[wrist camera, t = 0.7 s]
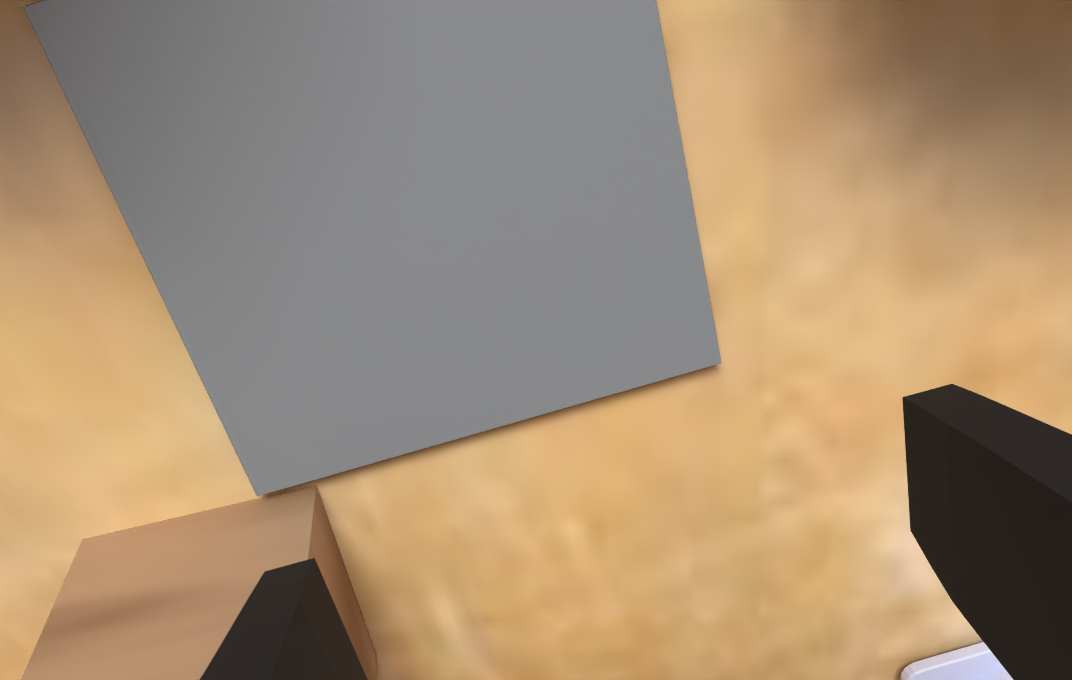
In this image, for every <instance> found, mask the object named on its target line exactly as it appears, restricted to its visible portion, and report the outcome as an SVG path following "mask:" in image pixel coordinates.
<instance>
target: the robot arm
mask: <svg viewBox="0 0 1072 680" xmlns="http://www.w3.org/2000/svg"><path fill="white" fill-rule="evenodd" d="M903 413H904V429H905V446H906V462H907V479H908V495H909V512H910V528H911V532H912V534H913V535H914V537H915V539H916V541H917V542H918V544H919V546H920V548H921V549H922V551H923V553H924V555H925V556H926V558H927V560H928V562H929V563H930V565H931V567H932V569H933V570H934V572H935V573H936V575H937V577H938V578H939V580H940V582H941V583H942V585H943V587H944V588H945V590H946V591H947V593H948V595H949V596H950V598H951V600H952V601H953V603H954V604H955V605H956V606H957V608H958V609H959V610H960V612H961V613H962V614H963V616H964V617H965V618H966V620H967V621H968V622H969V624H970V625H971V626H972V627H973V629H974V630H975V631H976V633H977V634H978V635H979V636H980V638H981V639H982V640H983V642H981V643H978V644H974V645H971V646H968V647H964V648H961V649H957V650H954V651H950V652H947V653H943V654H940V655H937V656H933V657H930V658H926V659H923V660H919V661H916V662H913V663H911V664H909V665H908V666H907V667H905V668H904V670H903V671H902V673H901V677H900V680H1072V435H1071V434H1069V433H1066V432H1064V431H1062V430H1060V429H1057V428H1055V427H1053V426H1050V425H1048V424H1046V423H1043V422H1041V421H1039V420H1037V419H1034V418H1032V417H1030V416H1027V415H1025V414H1023V413H1021V412H1018V411H1016V410H1014V409H1012V408H1009V407H1007V406H1005V405H1002V404H1000V403H998V402H995V401H993V400H991V399H989V398H986V397H984V396H981V395H979V394H977V393H974V392H972V391H969V390H967V389H964V388H962V387H959V386H956V385H954V384H950V385H946V386H942V387H939V388H935V389H931V390H928V391H924V392H920V393H917V394H913V395H909V396H906V397H903ZM200 680H368V679H367V677H366V675H365V672H364V670H363V668H362V666H361V663H360V661H359V659H358V656H357V654H356V652H355V649H354V647H353V645H352V643H351V640H350V638H349V636H348V633H347V631H346V629H345V626H344V624H343V622H342V620H341V617H340V615H339V613H338V610H337V608H336V606H335V604H334V601H333V599H332V597H331V594H330V592H329V590H328V587H327V585H326V583H325V581H324V578H323V576H322V574H321V571H320V569H319V567H318V564H317V562H316V560H315V558H312V559H308V560H305V561H301V562H297V563H294V564H290V565H286V566H283V567H279V568H275V569H272V570H268V571H265V572H264V573H263V575H262V576H261V578H260V580H259V581H258V583H257V585H256V586H255V588H254V589H253V591H252V593H251V594H250V596H249V598H248V599H247V601H246V603H245V604H244V606H243V608H242V609H241V611H240V613H239V614H238V616H237V618H236V619H235V621H234V623H233V625H232V626H231V628H230V630H229V631H228V633H227V635H226V637H225V638H224V640H223V642H222V643H221V645H220V647H219V648H218V650H217V652H216V653H215V655H214V657H213V658H212V660H211V662H210V663H209V665H208V667H207V668H206V670H205V672H204V673H203V675H202V676H201V678H200Z"/></svg>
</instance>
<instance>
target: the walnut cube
mask: <svg viewBox="0 0 1072 680" xmlns="http://www.w3.org/2000/svg"><path fill="white" fill-rule="evenodd" d="M312 558H315V560H316V562H317V564H318V567H319V569H320V571H321V574H322V576H323V578H324V581H325V583H326V585H327V587H328V590H329V592H330V594H331V597H332V599H333V601H334V604H335V606H336V608H337V610H338V613H339V615H340V617H341V620H342V622H343V624H344V626H345V629H346V631H347V633H348V636H349V638H350V640H351V643H352V645H353V647H354V649H355V652H356V654H357V656H358V659H359V661H360V663H361V666H362V668H363V670H364V672H365V675H366V677H367V679H368V680H376V652H375V649H374V646H373V643H372V640H371V638H370V635H369V632H368V629H367V626H366V624H365V621H364V618H363V615H362V612H361V610H360V607H359V604H358V601H357V598H356V596H355V593H354V590H353V587H352V584H351V582H350V579H349V576H348V573H347V570H346V567H345V565H344V562H343V559H342V556H341V553H340V551H339V548H338V545H337V542H336V539H335V537H334V534H333V531H332V528H331V525H330V523H329V520H328V517H327V514H326V511H325V509H324V506H323V503H322V500H321V497H320V494H319V492H318V489H317V486H316V485H315V486H310V487H306V488H302V489H297V490H293V491H289V492H285V493H280V494H276V495H272V496H267V497H263V498H259V499H254V500H250V501H246V502H242V503H237V504H233V505H229V506H224V507H220V508H216V509H211V510H207V511H203V512H199V513H194V514H190V515H186V516H181V517H177V518H173V519H168V520H164V521H160V522H156V523H151V524H147V525H143V526H138V527H134V528H130V529H125V530H121V531H117V532H113V533H108V534H104V535H100V536H95V537H91V538H87V539H83V540H82V542H81V544H80V547H79V549H78V551H77V553H76V556H75V558H74V560H73V562H72V565H71V567H70V569H69V572H68V574H67V576H66V578H65V581H64V583H63V585H62V588H61V590H60V592H59V594H58V597H57V599H56V601H55V604H54V606H53V608H52V610H51V613H50V615H49V617H48V619H47V622H46V624H45V626H44V629H43V631H42V633H41V635H40V638H39V640H38V642H37V645H36V647H35V649H34V651H33V654H32V656H31V658H30V661H29V663H28V665H27V667H26V670H25V672H24V674H23V676H22V679H21V680H200V678H201V676H202V675H203V673H204V672H205V670H206V668H207V667H208V665H209V663H210V662H211V660H212V658H213V657H214V655H215V653H216V652H217V650H218V648H219V647H220V645H221V643H222V642H223V640H224V638H225V637H226V635H227V633H228V631H229V630H230V628H231V626H232V625H233V623H234V621H235V619H236V618H237V616H238V614H239V613H240V611H241V609H242V608H243V606H244V604H245V603H246V601H247V599H248V598H249V596H250V594H251V593H252V591H253V589H254V588H255V586H256V585H257V583H258V581H259V580H260V578H261V576H262V575H263V573H264V572H265V571H268V570H272V569H275V568H279V567H283V566H286V565H290V564H294V563H297V562H301V561H305V560H308V559H312Z"/></svg>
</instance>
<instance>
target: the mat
mask: <svg viewBox="0 0 1072 680" xmlns="http://www.w3.org/2000/svg"><path fill="white" fill-rule="evenodd" d="M23 8H24V10H25V12H26V14H27V16H28V18H29V20H30V22H31V24H32V27H33V29H34V31H35V33H36V35H37V37H38V39H39V41H40V43H41V45H42V48H43V50H44V52H45V54H46V56H47V58H48V60H49V62H50V64H51V66H52V68H53V71H54V73H55V75H56V77H57V79H58V81H59V83H60V85H61V87H62V89H63V91H64V94H65V96H66V98H67V100H68V102H69V104H70V106H71V108H72V110H73V112H74V114H75V117H76V119H77V121H78V123H79V125H80V127H81V129H82V131H83V133H84V135H85V138H86V140H87V142H88V144H89V146H90V148H91V150H92V152H93V154H94V156H95V158H96V161H97V163H98V165H99V167H100V169H101V171H102V173H103V175H104V177H105V179H106V181H107V184H108V186H109V188H110V190H111V192H112V194H113V196H114V198H115V200H116V202H117V204H118V207H119V209H120V211H121V213H122V215H123V217H124V219H125V221H126V223H127V225H128V227H129V230H130V232H131V234H132V236H133V238H134V240H135V242H136V244H137V246H138V248H139V251H140V253H141V255H142V257H143V259H144V261H145V263H146V265H147V267H148V269H149V271H150V274H151V276H152V278H153V280H154V282H155V284H156V286H157V288H158V290H159V292H160V294H161V297H162V299H163V301H164V303H165V305H166V307H167V309H168V311H169V313H170V315H171V317H172V320H173V322H174V324H175V326H176V328H177V330H178V332H179V334H180V336H181V338H182V340H183V343H184V345H185V347H186V349H187V351H188V353H189V355H190V357H191V359H192V361H193V364H194V366H195V368H196V370H197V372H198V374H199V376H200V378H201V380H202V382H203V384H204V387H205V389H206V391H207V393H208V395H209V397H210V399H211V401H212V403H213V405H214V407H215V410H216V412H217V414H218V416H219V418H220V420H221V422H222V424H223V426H224V428H225V430H226V433H227V435H228V437H229V439H230V441H231V443H232V445H233V447H234V449H235V451H236V454H237V456H238V458H239V460H240V462H241V464H242V466H243V468H244V470H245V472H246V474H247V477H248V479H249V481H250V483H251V485H252V487H253V489H254V491H255V493H256V495H257V496H260V495H264V494H267V493H271V492H274V491H278V490H281V489H285V488H288V487H292V486H295V485H298V484H302V483H305V482H309V481H312V480H316V479H319V478H323V477H326V476H330V475H333V474H337V473H340V472H344V471H347V470H351V469H354V468H358V467H361V466H365V465H368V464H372V463H375V462H379V461H382V460H386V459H389V458H392V457H396V456H399V455H403V454H406V453H410V452H413V451H417V450H420V449H424V448H427V447H431V446H434V445H438V444H441V443H445V442H448V441H452V440H455V439H459V438H462V437H466V436H469V435H473V434H476V433H480V432H483V431H487V430H490V429H493V428H497V427H500V426H504V425H507V424H511V423H514V422H518V421H521V420H525V419H528V418H532V417H535V416H539V415H542V414H546V413H549V412H553V411H556V410H560V409H563V408H567V407H570V406H574V405H577V404H581V403H584V402H588V401H591V400H594V399H598V398H601V397H605V396H608V395H612V394H615V393H619V392H622V391H626V390H629V389H633V388H636V387H640V386H643V385H647V384H650V383H654V382H657V381H661V380H664V379H668V378H671V377H675V376H678V375H682V374H685V373H689V372H692V371H695V370H699V369H702V368H706V367H709V366H713V365H716V364H720V363H721V358H720V352H719V347H718V341H717V336H716V330H715V324H714V319H713V313H712V308H711V302H710V297H709V291H708V286H707V280H706V274H705V269H704V263H703V258H702V252H701V247H700V241H699V236H698V230H697V224H696V219H695V213H694V208H693V202H692V197H691V191H690V186H689V180H688V174H687V169H686V163H685V158H684V152H683V147H682V141H681V135H680V130H679V124H678V119H677V113H676V108H675V102H674V97H673V91H672V85H671V80H670V74H669V69H668V63H667V58H666V52H665V47H664V41H663V35H662V30H661V24H660V19H659V13H658V8H657V2H656V0H44V1H40V2H37V3H33V4H30V5H28V6H25V7H23Z"/></svg>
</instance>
